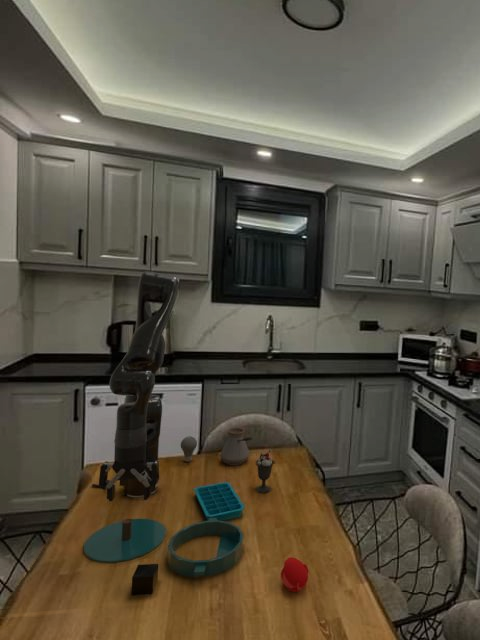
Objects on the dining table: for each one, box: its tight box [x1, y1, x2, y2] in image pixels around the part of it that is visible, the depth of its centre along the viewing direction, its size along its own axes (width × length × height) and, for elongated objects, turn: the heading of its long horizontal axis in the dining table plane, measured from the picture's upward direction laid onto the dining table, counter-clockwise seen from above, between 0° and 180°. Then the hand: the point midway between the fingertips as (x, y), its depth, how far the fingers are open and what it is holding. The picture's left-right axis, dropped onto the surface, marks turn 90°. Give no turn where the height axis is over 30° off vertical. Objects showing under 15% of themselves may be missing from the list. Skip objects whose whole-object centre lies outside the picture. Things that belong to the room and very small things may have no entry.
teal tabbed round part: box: [167, 518, 244, 578], centre depth 116 cm, size 19×24×4 cm
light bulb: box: [180, 435, 198, 463], centre depth 171 cm, size 6×6×10 cm
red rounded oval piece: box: [280, 556, 309, 593], centre depth 108 cm, size 8×6×6 cm
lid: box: [83, 518, 167, 564], centre depth 119 cm, size 20×20×6 cm
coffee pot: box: [219, 427, 256, 466], centre depth 171 cm, size 21×12×15 cm, turn 39°
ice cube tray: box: [193, 481, 245, 521], centre depth 140 cm, size 12×20×3 cm, turn 34°
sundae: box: [255, 449, 276, 494], centre depth 154 cm, size 7×7×15 cm
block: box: [130, 563, 159, 596], centre depth 102 cm, size 4×4×5 cm
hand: (129, 499), depth 118 cm, fingers open, 8 cm apart
